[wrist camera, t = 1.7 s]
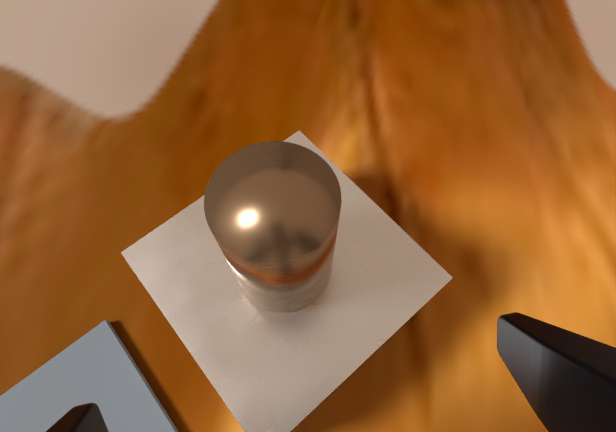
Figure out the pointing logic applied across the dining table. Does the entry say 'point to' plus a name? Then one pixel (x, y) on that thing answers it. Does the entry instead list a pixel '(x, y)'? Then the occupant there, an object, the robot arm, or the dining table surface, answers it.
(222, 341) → the cover
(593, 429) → the robot arm
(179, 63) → the dining table surface
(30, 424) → the mat
